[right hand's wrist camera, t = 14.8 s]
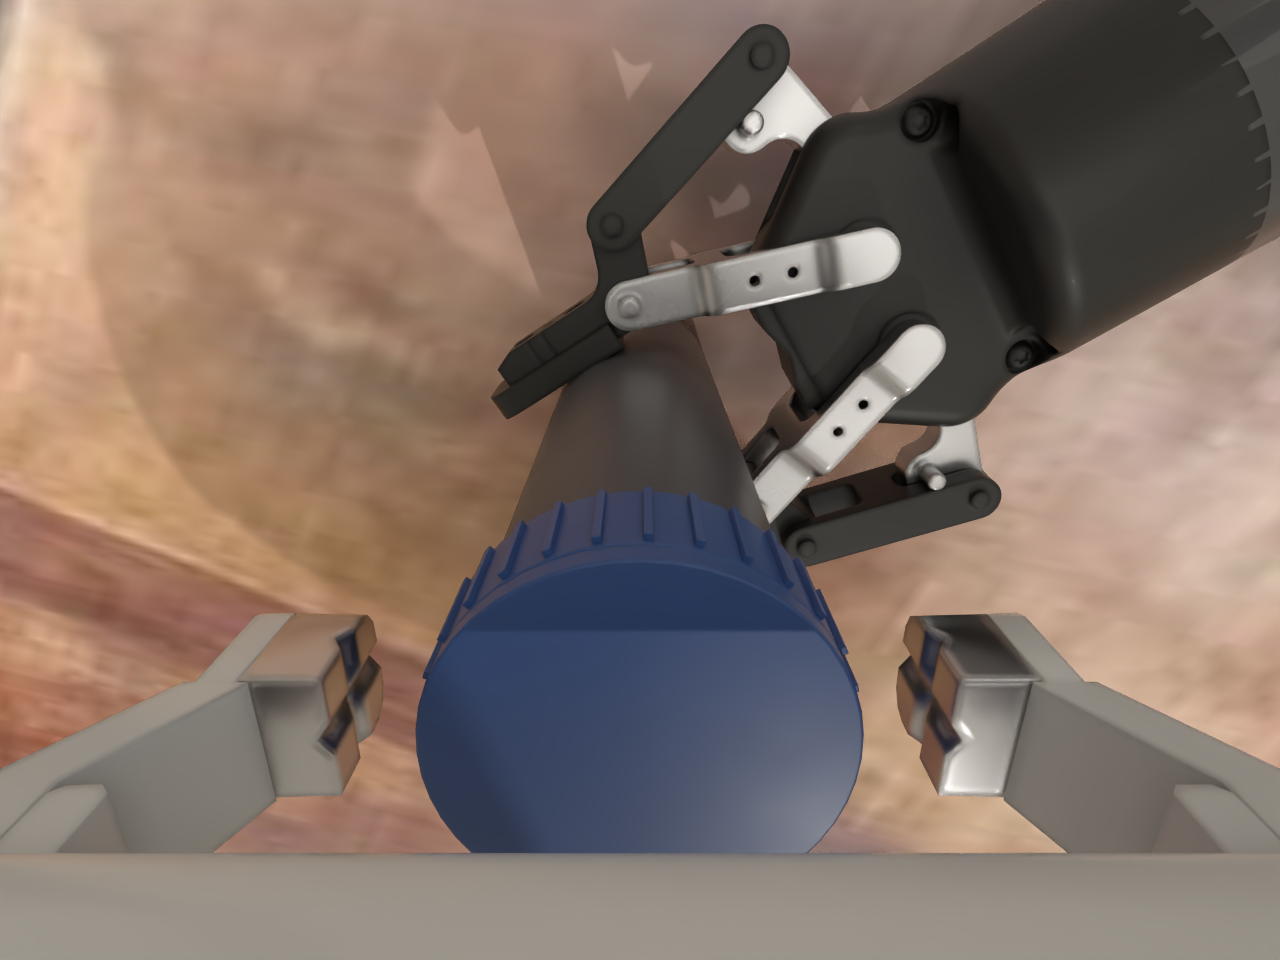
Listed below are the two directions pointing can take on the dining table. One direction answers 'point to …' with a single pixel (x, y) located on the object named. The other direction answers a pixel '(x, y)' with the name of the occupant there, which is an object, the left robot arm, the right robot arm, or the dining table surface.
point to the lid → (639, 688)
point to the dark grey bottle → (642, 431)
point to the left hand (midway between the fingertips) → (562, 478)
